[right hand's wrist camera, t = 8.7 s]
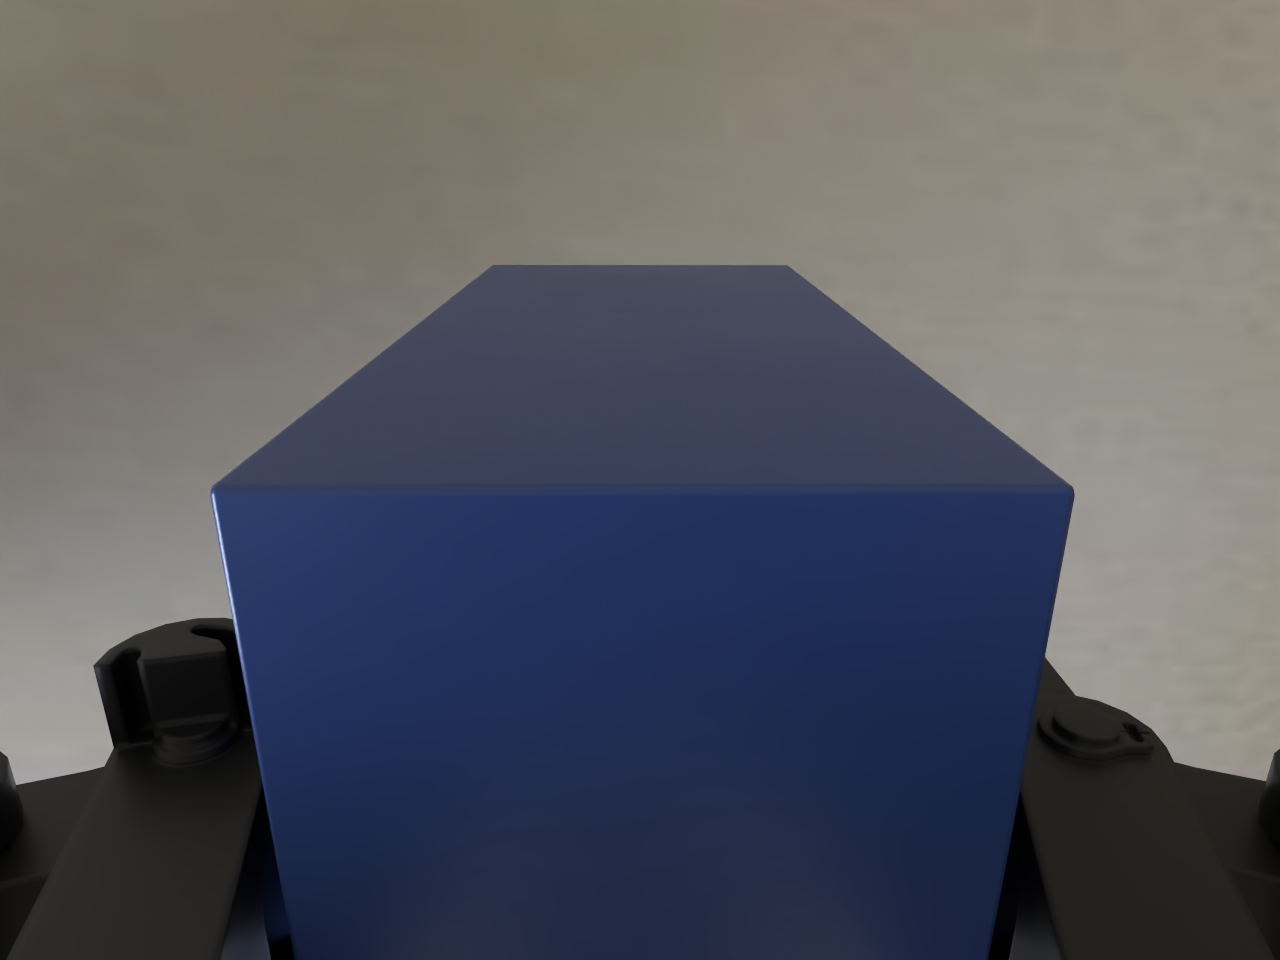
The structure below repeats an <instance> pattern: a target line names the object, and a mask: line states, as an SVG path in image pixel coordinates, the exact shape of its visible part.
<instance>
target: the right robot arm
mask: <svg viewBox="0 0 1280 960" xmlns="http://www.w3.org/2000/svg"><path fill="white" fill-rule="evenodd" d="M94 670H95V674H96V678H97V682H98V686H99V690H100V694H101V698H102V702H103V706H104V710H105V714H106V718H107V722H108V726H109V730H110V734H111V738H112V742H113V746H114V749H113V751H112V753H111V755H110V757H109V759H108V761H107V763H106V765H105V767H101V768H97V769H94V770H90V771H86V772H80V773H75V774H70V775H65V776H60V777H55V778H50V779H45V780H40V781H35V782H30V783H25V784H20V785H16V784H15V781H14V777H13V774H12V771H11V767H10V764H9V761H8V757H6V756H5V755H4V754H3V753H1V752H0V960H294V954H293V949H292V943H291V938H290V932H289V926H288V921H287V915H286V910H285V904H284V899H283V893H282V888H281V882H280V877H279V871H278V866H277V860H276V855H275V849H274V844H273V838H272V832H271V827H270V821H269V816H268V810H267V805H266V799H265V794H264V788H263V783H262V777H261V772H260V766H259V761H258V755H257V750H256V744H255V739H254V733H253V727H252V722H251V716H250V711H249V705H248V700H247V694H246V689H245V683H244V678H243V672H242V667H241V661H240V656H239V650H238V645H237V639H236V634H235V628H234V622H233V619H228V618H197V619H191V620H186V621H181V622H175V623H170V624H165V625H162V626H159V627H156V628H154V629H151V630H148V631H145V632H142V633H139V634H136V635H134V636H132V637H131V638H129V639H127V640H125V641H124V642H122V643H120V644H118V645H117V646H115V647H113V648H111V649H110V650H109V651H108V652H107V653H106V654H105V655H104V656H103V657H102V658H101V659H100V660H99V661H98V662H97V663H96V664H95V665H94ZM988 960H1280V749H1279V750H1278V751H1277V752H1275V753H1274V757H1273V760H1272V763H1271V767H1270V770H1269V773H1268V776H1267V780H1266V781H1261V780H1256V779H1251V778H1246V777H1241V776H1236V775H1231V774H1226V773H1221V772H1216V771H1211V770H1205V769H1200V768H1195V767H1191V766H1187V765H1184V764H1180V763H1176V762H1174V761H1173V759H1172V757H1171V755H1170V753H1169V751H1168V749H1167V747H1166V746H1165V745H1164V744H1163V742H1162V741H1161V740H1160V739H1159V738H1158V736H1157V735H1156V734H1155V733H1154V732H1153V730H1152V729H1151V728H1149V727H1148V726H1146V725H1145V724H1143V723H1142V722H1140V721H1139V720H1137V719H1136V718H1134V717H1133V716H1131V715H1130V714H1128V713H1127V712H1124V711H1122V710H1119V709H1117V708H1115V707H1112V706H1110V705H1107V704H1105V703H1102V702H1100V701H1097V700H1092V699H1088V698H1083V697H1079V696H1075V694H1074V693H1073V692H1072V691H1071V689H1070V688H1069V687H1068V686H1067V684H1066V683H1065V682H1064V681H1063V679H1062V678H1061V677H1060V676H1059V674H1058V673H1057V672H1056V671H1055V669H1054V668H1053V667H1052V666H1051V664H1050V663H1049V662H1048V661H1047V659H1046V658H1045V657H1044V663H1043V668H1042V674H1041V679H1040V684H1039V690H1038V695H1037V701H1036V706H1035V711H1034V717H1033V722H1032V727H1031V733H1030V738H1029V744H1028V749H1027V754H1026V760H1025V765H1024V771H1023V776H1022V781H1021V787H1020V792H1019V797H1018V803H1017V808H1016V814H1015V819H1014V824H1013V830H1012V835H1011V841H1010V846H1009V851H1008V857H1007V862H1006V867H1005V873H1004V878H1003V884H1002V889H1001V894H1000V900H999V905H998V910H997V916H996V921H995V927H994V932H993V937H992V943H991V948H990V954H989V959H988Z"/></svg>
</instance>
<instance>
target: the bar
mask: <svg viewBox="0 0 1280 960" xmlns="http://www.w3.org/2000/svg"><path fill="white" fill-rule="evenodd" d="M211 501H212V506H213V512H214V517H215V523H216V528H217V534H218V540H219V545H220V551H221V556H222V562H223V567H224V573H225V578H226V584H227V589H228V595H229V600H230V606H231V611H232V617H233V622H234V628H235V634H236V639H237V645H238V650H239V656H240V661H241V667H242V672H243V678H244V683H245V689H246V694H247V700H248V705H249V711H250V716H251V722H252V727H253V733H254V739H255V744H256V750H257V755H258V761H259V766H260V772H261V777H262V783H263V788H264V794H265V799H266V805H267V810H268V816H269V821H270V827H271V832H272V838H273V844H274V849H275V855H276V860H277V866H278V871H279V877H280V882H281V888H282V893H283V899H284V904H285V910H286V915H287V921H288V926H289V932H290V938H291V943H292V949H293V954H294V960H988V959H989V954H990V948H991V943H992V937H993V932H994V927H995V921H996V916H997V910H998V905H999V900H1000V894H1001V889H1002V884H1003V878H1004V873H1005V867H1006V862H1007V857H1008V851H1009V846H1010V841H1011V835H1012V830H1013V824H1014V819H1015V814H1016V808H1017V803H1018V797H1019V792H1020V787H1021V781H1022V776H1023V771H1024V765H1025V760H1026V754H1027V749H1028V744H1029V738H1030V733H1031V727H1032V722H1033V717H1034V711H1035V706H1036V701H1037V695H1038V690H1039V684H1040V679H1041V674H1042V668H1043V663H1044V657H1045V652H1046V647H1047V641H1048V636H1049V631H1050V625H1051V620H1052V614H1053V609H1054V604H1055V598H1056V593H1057V587H1058V582H1059V577H1060V571H1061V566H1062V561H1063V555H1064V550H1065V544H1066V539H1067V534H1068V528H1069V523H1070V518H1071V512H1072V507H1073V501H1074V490H1073V487H1072V486H1071V485H1069V484H1068V483H1067V482H1066V481H1064V480H1063V479H1062V478H1060V477H1059V476H1058V475H1057V474H1055V473H1054V472H1053V471H1051V470H1050V469H1049V468H1048V467H1046V466H1045V465H1044V464H1042V463H1041V462H1040V461H1039V460H1037V459H1036V458H1035V457H1033V456H1032V455H1031V454H1030V453H1028V452H1027V451H1026V450H1024V449H1023V448H1022V447H1021V446H1019V445H1018V444H1017V443H1015V442H1014V441H1013V440H1012V439H1010V438H1009V437H1008V436H1006V435H1005V434H1004V433H1003V432H1001V431H1000V430H999V429H997V428H996V427H995V426H994V425H992V424H991V423H990V422H988V421H987V420H986V419H984V418H983V417H982V416H981V415H979V414H978V413H977V412H975V411H974V410H973V409H972V408H970V407H969V406H968V405H966V404H965V403H964V402H963V401H961V400H960V399H959V398H957V397H956V396H955V395H954V394H952V393H951V392H950V391H948V390H947V389H946V388H945V387H943V386H942V385H941V384H939V383H938V382H937V381H936V380H934V379H933V378H932V377H930V376H929V375H928V374H927V373H925V372H924V371H923V370H921V369H920V368H919V367H918V366H916V365H915V364H914V363H912V362H911V361H910V360H909V359H907V358H906V357H905V356H903V355H902V354H901V353H900V352H898V351H897V350H896V349H894V348H893V347H892V346H891V345H889V344H888V343H887V342H885V341H884V340H883V339H882V338H880V337H879V336H878V335H876V334H875V333H874V332H872V331H871V330H870V329H869V328H867V327H866V326H865V325H863V324H862V323H861V322H860V321H858V320H857V319H856V318H854V317H853V316H852V315H851V314H849V313H848V312H847V311H845V310H844V309H843V308H842V307H840V306H839V305H838V304H836V303H835V302H834V301H833V300H831V299H830V298H829V297H827V296H826V295H825V294H824V293H822V292H821V291H820V290H818V289H817V288H816V287H815V286H813V285H812V284H811V283H809V282H808V281H807V280H806V279H804V278H803V277H802V276H800V275H799V274H798V273H797V272H795V271H794V270H793V269H791V268H790V267H789V266H787V265H493V266H491V267H490V268H489V269H487V270H486V271H485V272H484V273H482V274H481V275H480V276H479V277H477V278H476V279H475V280H473V281H472V282H471V283H470V284H468V285H467V286H466V287H465V288H463V289H462V290H461V291H460V292H458V293H457V294H456V295H454V296H453V297H452V298H451V299H449V300H448V301H447V302H446V303H444V304H443V305H442V306H440V307H439V308H438V309H437V310H435V311H434V312H433V313H432V314H430V315H429V316H428V317H427V318H425V319H424V320H423V321H421V322H420V323H419V324H418V325H416V326H415V327H414V328H413V329H411V330H410V331H409V332H407V333H406V334H405V335H404V336H402V337H401V338H400V339H399V340H397V341H396V342H395V343H394V344H392V345H391V346H390V347H388V348H387V349H386V350H385V351H383V352H382V353H381V354H380V355H378V356H377V357H376V358H375V359H373V360H372V361H371V362H369V363H368V364H367V365H366V366H364V367H363V368H362V369H361V370H359V371H358V372H357V373H355V374H354V375H353V376H352V377H350V378H349V379H348V380H347V381H345V382H344V383H343V384H342V385H340V386H339V387H338V388H336V389H335V390H334V391H333V392H331V393H330V394H329V395H328V396H326V397H325V398H324V399H322V400H321V401H320V402H319V403H317V404H316V405H315V406H314V407H312V408H311V409H310V410H309V411H307V412H306V413H305V414H303V415H302V416H301V417H300V418H298V419H297V420H296V421H295V422H293V423H292V424H291V425H290V426H288V427H287V428H286V429H284V430H283V431H282V432H281V433H279V434H278V435H277V436H276V437H274V438H273V439H272V440H270V441H269V442H268V443H267V444H265V445H264V446H263V447H262V448H260V449H259V450H258V451H257V452H255V453H254V454H253V455H251V456H250V457H249V458H248V459H246V460H245V461H244V462H243V463H241V464H240V465H239V466H237V467H236V468H235V469H234V470H232V471H231V472H230V473H229V474H227V475H226V476H225V477H224V478H222V479H221V480H220V481H218V482H217V483H216V484H215V485H213V486H212V489H211Z"/></svg>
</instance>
